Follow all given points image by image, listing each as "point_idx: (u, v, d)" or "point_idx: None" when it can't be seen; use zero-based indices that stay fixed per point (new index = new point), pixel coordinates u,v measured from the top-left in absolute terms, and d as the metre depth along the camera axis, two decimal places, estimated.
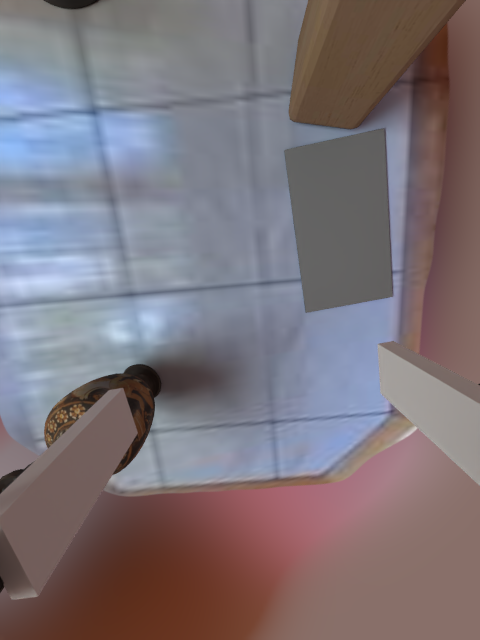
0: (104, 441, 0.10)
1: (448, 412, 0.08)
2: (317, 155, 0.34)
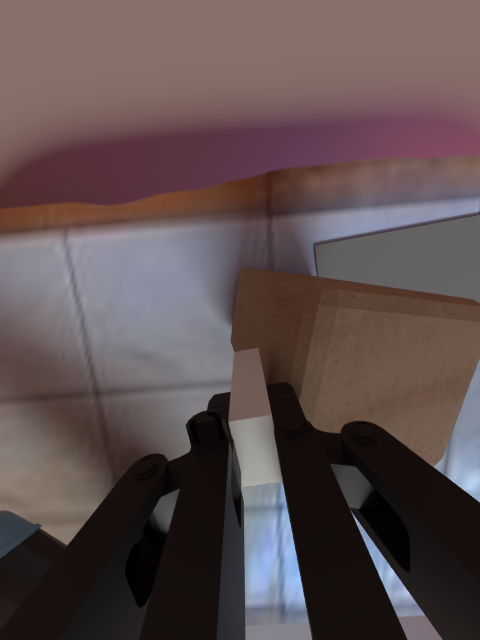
0: None
1: None
2: None
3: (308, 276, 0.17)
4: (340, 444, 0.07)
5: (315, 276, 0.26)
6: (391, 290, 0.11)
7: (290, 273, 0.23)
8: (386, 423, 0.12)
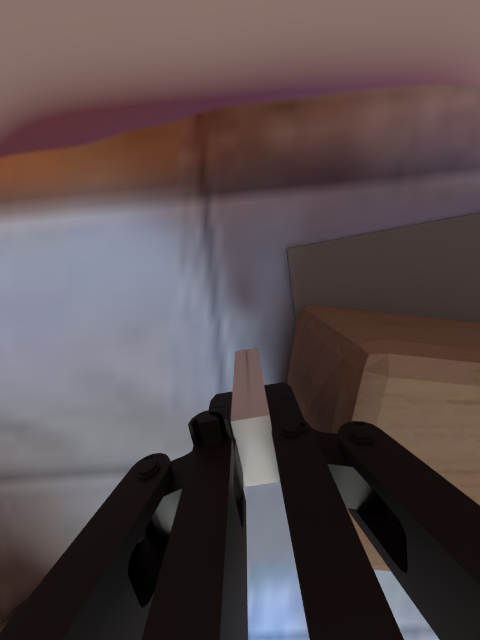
0: None
1: None
2: None
3: None
4: (338, 445, 0.07)
5: (369, 313, 0.15)
6: None
7: (466, 334, 0.12)
8: None
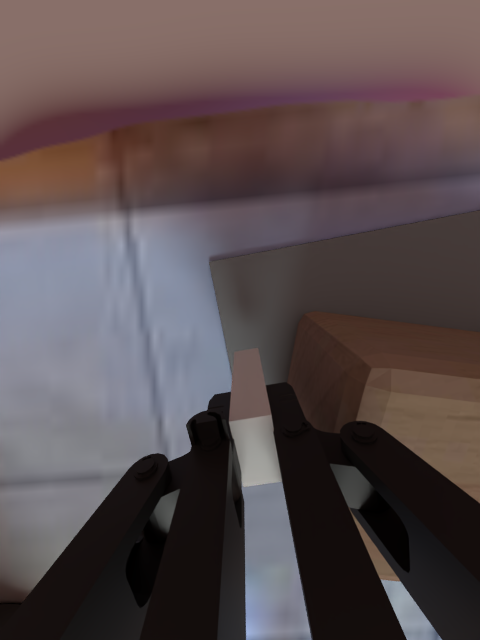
0: None
1: None
2: None
3: None
4: (340, 444, 0.07)
5: (370, 320, 0.15)
6: None
7: (467, 346, 0.12)
8: None
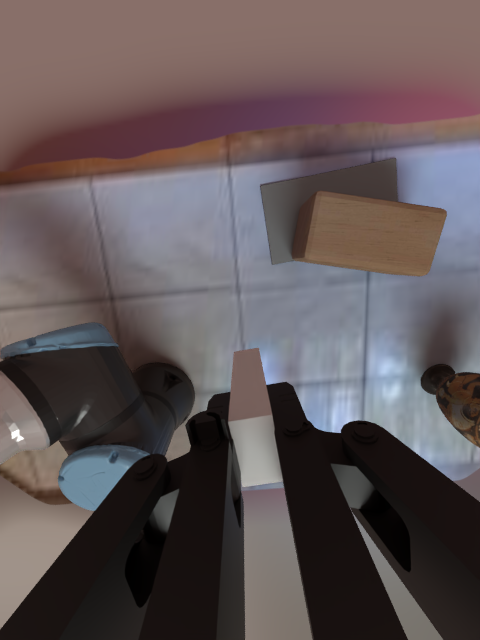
0: None
1: None
2: (277, 239, 0.45)
3: None
4: (341, 444, 0.07)
5: None
6: None
7: None
8: None
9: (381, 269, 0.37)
